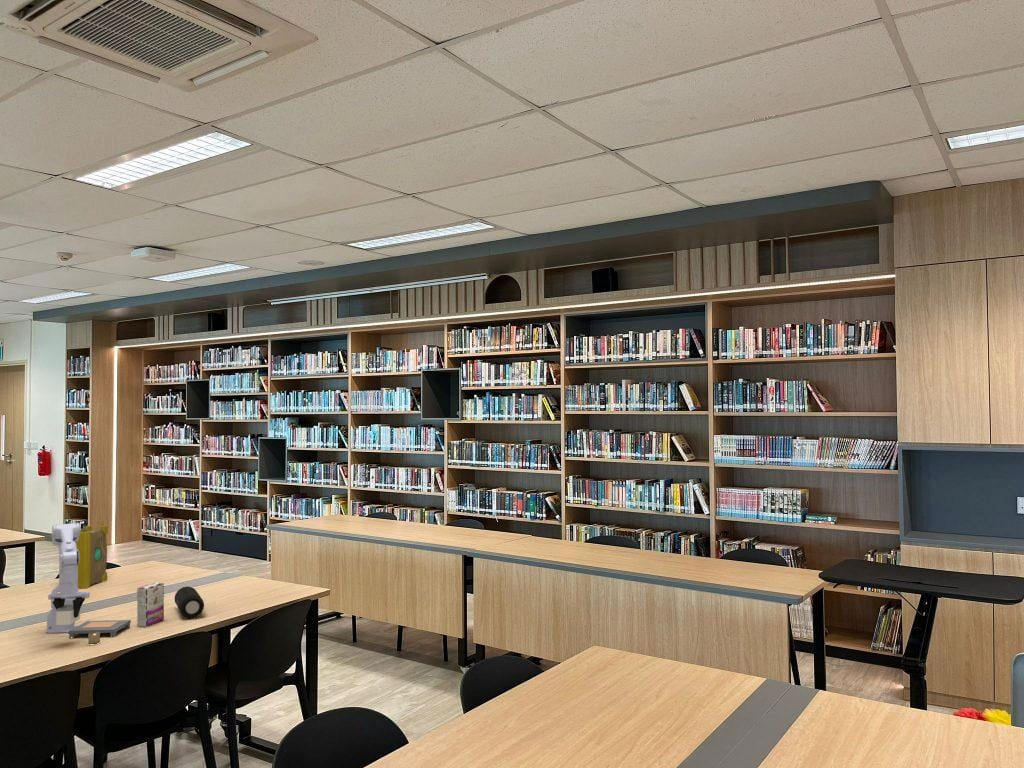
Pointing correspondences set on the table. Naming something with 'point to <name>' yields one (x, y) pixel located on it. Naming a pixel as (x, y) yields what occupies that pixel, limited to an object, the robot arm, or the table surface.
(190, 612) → the portable speaker
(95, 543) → the decorative book
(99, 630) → the stand
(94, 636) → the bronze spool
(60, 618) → the housing
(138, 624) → the candy bar box
